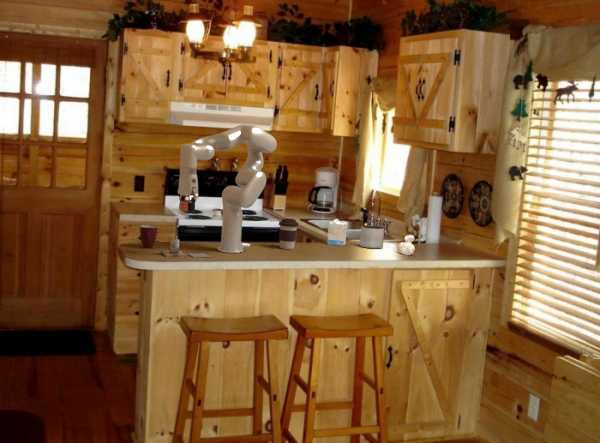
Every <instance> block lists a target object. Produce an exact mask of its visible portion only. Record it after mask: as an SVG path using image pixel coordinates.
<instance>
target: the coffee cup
mask: <svg viewBox="0 0 600 443" xmlns="http://www.w3.org/2000/svg"><path fill="white" fill-rule="evenodd" d="M278 225H279V248H280V249H283V250H294V249H295V244H296V240H297V233H298V230H297V229H298V227H299V222H297V220H296V219H294V218H282V219H281V220H280V221H279V222H278Z"/></svg>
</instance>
